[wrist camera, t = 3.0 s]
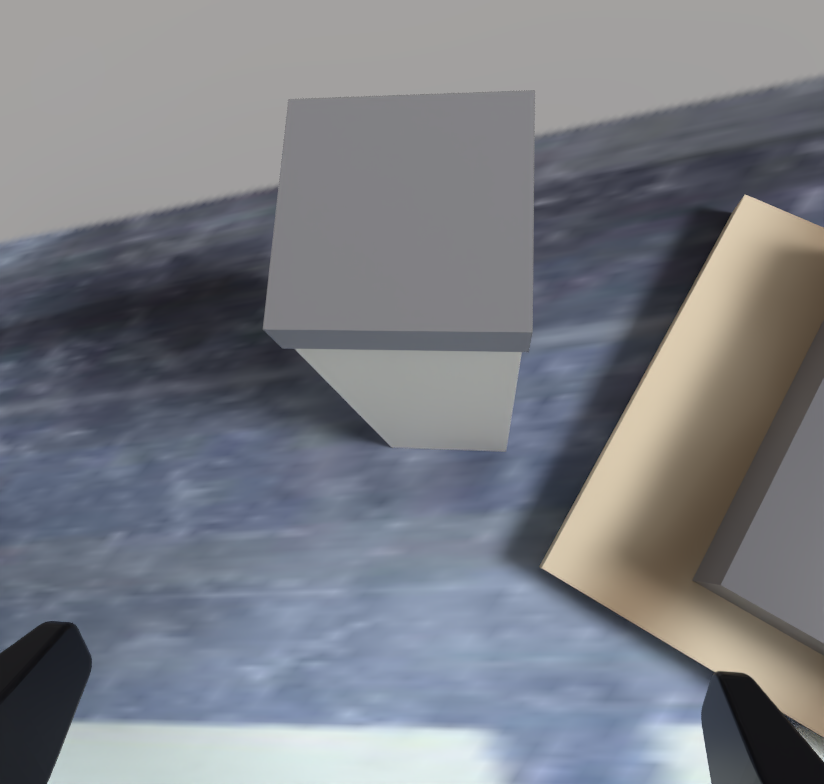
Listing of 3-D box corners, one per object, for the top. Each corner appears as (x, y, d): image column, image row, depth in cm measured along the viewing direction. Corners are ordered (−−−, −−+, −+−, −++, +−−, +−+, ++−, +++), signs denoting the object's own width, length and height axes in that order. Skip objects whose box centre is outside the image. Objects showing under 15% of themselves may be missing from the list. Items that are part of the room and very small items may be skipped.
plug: (388, 450, 23) (262, 329, 10) (397, 314, 24) (293, 54, 11) (508, 454, 22) (532, 331, 10) (511, 314, 23) (535, 43, 11)
